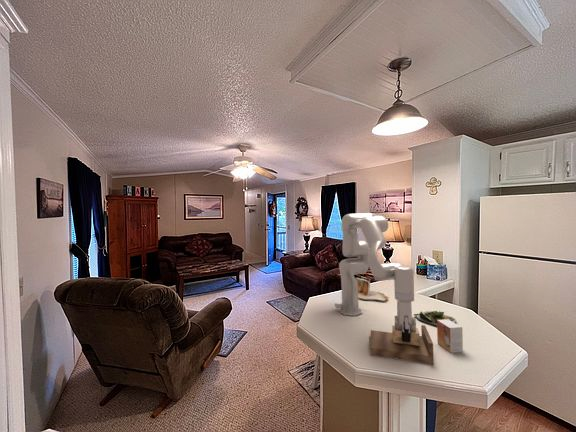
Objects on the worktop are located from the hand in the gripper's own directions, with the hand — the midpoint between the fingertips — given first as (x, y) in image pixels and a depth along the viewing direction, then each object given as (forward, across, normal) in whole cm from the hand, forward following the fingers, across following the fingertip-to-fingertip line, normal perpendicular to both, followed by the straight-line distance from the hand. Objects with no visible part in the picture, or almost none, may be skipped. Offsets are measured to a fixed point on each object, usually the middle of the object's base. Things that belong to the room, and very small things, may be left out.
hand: (405, 337), depth 105 cm
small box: (+5, -7, +18) cm, 20 cm away
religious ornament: (+6, -64, -16) cm, 67 cm away
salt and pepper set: (+2, 0, 0) cm, 2 cm away
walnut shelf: (+5, 0, -3) cm, 6 cm away
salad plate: (+6, -35, +18) cm, 40 cm away
